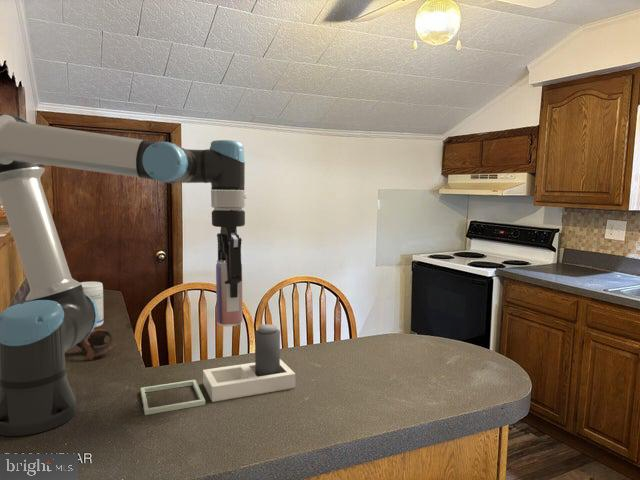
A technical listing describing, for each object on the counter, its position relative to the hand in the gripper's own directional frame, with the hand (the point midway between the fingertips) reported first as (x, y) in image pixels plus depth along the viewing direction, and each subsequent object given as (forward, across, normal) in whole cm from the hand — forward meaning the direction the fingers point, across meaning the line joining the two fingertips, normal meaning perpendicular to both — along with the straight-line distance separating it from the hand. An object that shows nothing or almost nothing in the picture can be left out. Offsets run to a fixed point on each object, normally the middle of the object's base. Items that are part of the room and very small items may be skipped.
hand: (229, 307), depth 111 cm
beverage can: (+4, 0, 0) cm, 4 cm away
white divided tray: (+20, 0, -4) cm, 20 cm away
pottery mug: (+20, +39, +30) cm, 53 cm away
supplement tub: (+20, +71, +32) cm, 81 cm away
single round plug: (+20, 0, -9) cm, 22 cm away
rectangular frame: (+20, 0, +13) cm, 24 cm away
